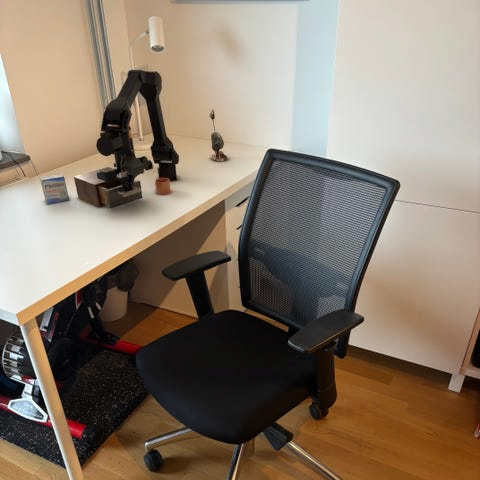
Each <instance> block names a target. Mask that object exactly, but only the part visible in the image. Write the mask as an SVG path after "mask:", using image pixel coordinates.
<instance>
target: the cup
mask: <svg viewBox="0 0 480 480" xmlns="http://www.w3.org/2000/svg"><path fill="white" fill-rule="evenodd" d="M154 186H155V193H156V194H157V195H160V196H164V195H168V194H170V193H171V192H172V189H171V181H170V180H169V179H168V178H159V177H158V178H156V179H154Z"/></svg>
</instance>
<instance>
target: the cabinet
mask: <svg viewBox="0 0 480 480" xmlns="http://www.w3.org/2000/svg"><path fill="white" fill-rule="evenodd" d="M105 168H110V169H115V167H111V166H106V167H105ZM98 170H99V169H95V170H92V171H89V172H84V173H80V174H78V175H74V176H73V180H74V184H75V189H76V194H77V199H78V200H80V201H82V202H85V203H88V204H89V205H92V206H95V207H96V208H102V207H105V206H106V205H105V204H103V203H100V199H99V194H98V189H97V186H100V185H103V184H107V183H110V182H113V181H117V178H116V180H113V181H109V182H105V181H103V180H100V179H97V171H98Z"/></svg>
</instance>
